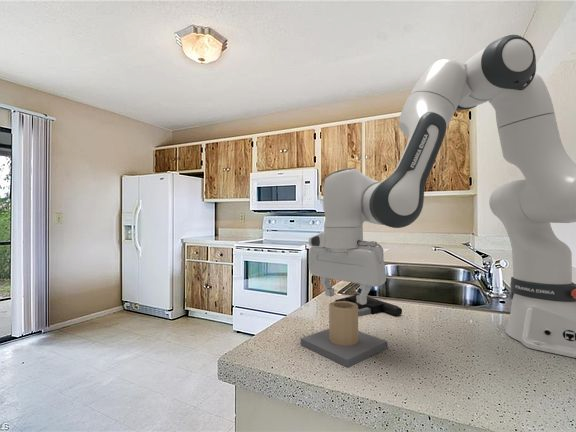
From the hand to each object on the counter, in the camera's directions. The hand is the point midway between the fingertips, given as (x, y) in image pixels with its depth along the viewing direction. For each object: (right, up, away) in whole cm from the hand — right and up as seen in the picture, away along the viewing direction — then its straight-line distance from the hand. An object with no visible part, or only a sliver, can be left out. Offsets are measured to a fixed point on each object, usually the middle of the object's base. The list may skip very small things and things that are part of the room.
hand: (344, 299), depth 71 cm
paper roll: (0, -9, 0) cm, 9 cm away
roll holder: (0, -11, 0) cm, 11 cm away
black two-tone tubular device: (+10, -11, +27) cm, 31 cm away
